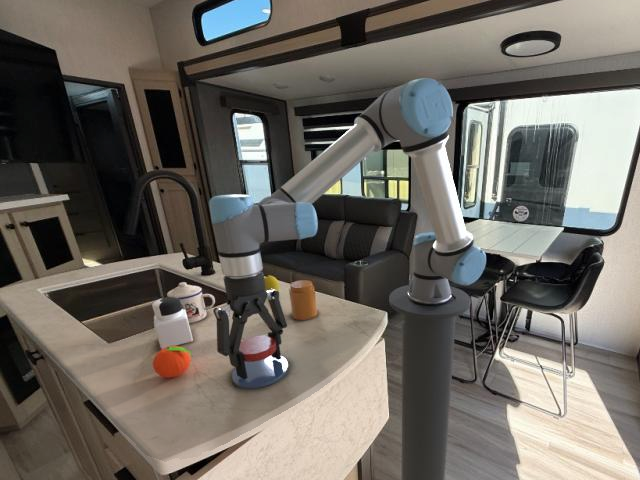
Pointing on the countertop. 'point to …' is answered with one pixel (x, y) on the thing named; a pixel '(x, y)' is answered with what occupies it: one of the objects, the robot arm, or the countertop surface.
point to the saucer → (262, 373)
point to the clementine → (171, 361)
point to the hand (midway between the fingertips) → (260, 366)
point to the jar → (303, 300)
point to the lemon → (271, 283)
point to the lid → (257, 348)
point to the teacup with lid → (191, 301)
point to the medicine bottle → (171, 322)
